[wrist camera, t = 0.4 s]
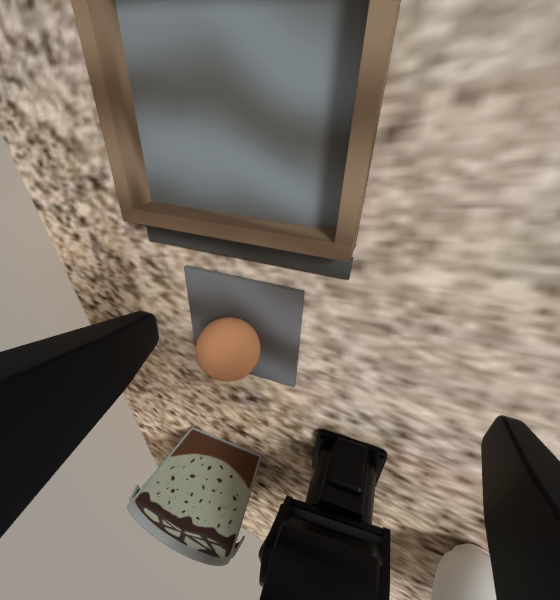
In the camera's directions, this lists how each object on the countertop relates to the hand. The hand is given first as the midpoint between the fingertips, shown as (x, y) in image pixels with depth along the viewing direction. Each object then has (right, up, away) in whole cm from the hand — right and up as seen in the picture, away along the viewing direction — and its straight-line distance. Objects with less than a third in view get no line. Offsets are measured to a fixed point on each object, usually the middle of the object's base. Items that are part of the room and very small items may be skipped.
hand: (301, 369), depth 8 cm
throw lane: (-3, +7, +14) cm, 16 cm away
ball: (-5, -2, +16) cm, 17 cm away
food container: (-7, -17, +31) cm, 36 cm away
